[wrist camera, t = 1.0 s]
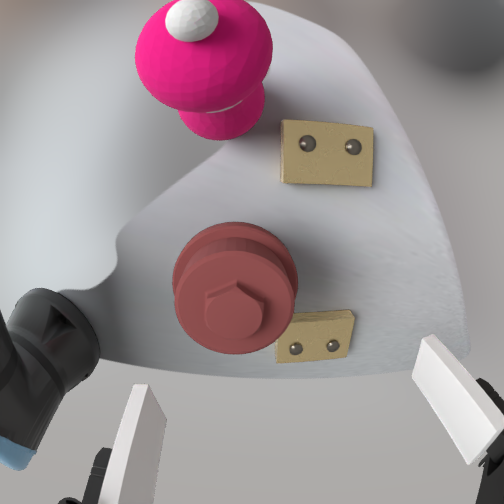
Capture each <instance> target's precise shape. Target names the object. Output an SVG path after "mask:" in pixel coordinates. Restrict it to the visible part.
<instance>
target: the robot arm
mask: <svg viewBox="0 0 504 504" xmlns="http://www.w3.org/2000/svg"><path fill="white" fill-rule="evenodd" d="M99 355H100V351H99V344H98V341H97V338H96V335H95V333H94V331H93V329H92V327H91V326H90V324H89V322H88V321H87V320H86V318H85V317H84V316H83V314H82V313H81V312H80V311H79V310H78V309H77V308H76V307H75V306H74V305H73V304H72V303H71V302H70V301H69V300H67V299H66V298H65V297H63V296H62V295H60V294H58V293H56V292H54V291H52V290H48V289H45V288H35V289H32V290H30V291H29V292H27V293H26V294H25V295H24V296H23V297H21V298H20V299H19V301H18V302H17V304H16V305H15V309H14V310H13V312H12V314H11V316H10V318H9V320H8V322H7V325H6V324H5V322H4V319H3V316H2V313H1V311H0V462H1V463H2V464H4V465H5V466H7V467H9V468H11V469H13V470H18V471H20V470H24V469H25V468H26V467H27V465H28V463H29V462H30V460H31V458H32V456H33V455H34V454H36V452H37V451H36V450H37V448H38V446H39V444H40V442H41V440H42V438H43V436H44V434H45V431H46V429H47V427H48V426H49V423H50V421H51V420H52V418H53V416H54V414H55V412H56V410H57V408H58V406H59V404H60V402H61V401H62V399H63V397H64V395H65V394H66V393H67V392H69V391H70V390H71V389H73V388H74V387H75V386H76V385H78V384H79V383H80V382H81V381H83V380H85V379H86V378H88V377H89V376H90V375H91V373H92V372H93V370H94V369H95V367H96V365H97V363H98V361H99ZM411 377H412V378H413V380H414V381H415V383H416V384H417V386H418V387H419V389H420V390H421V392H422V393H423V395H424V396H425V398H426V399H427V401H428V402H429V404H430V405H431V407H432V408H433V410H434V411H435V413H436V414H437V416H438V417H439V419H440V421H441V422H442V423H443V425H444V427H445V428H446V430H447V432H448V433H449V435H450V436H451V438H452V440H453V441H454V443H455V445H456V446H457V448H458V450H459V451H460V453H461V455H462V456H463V458H464V460H465V461H466V463H467V465H469V464H471V463H472V462H474V461H475V460H477V459H478V458H480V457H481V456H482V454H483V453H484V452H485V451H487V453H488V454H487V455H486V456H485V457H484V458H483V459H482V460H481V462H480V463H479V467H480V466H481V465H482V464H483V463H484V462H485V464H484V465H483V467H484V470H483V475H482V480H481V484H480V488H479V493H478V496H477V500H476V504H504V401H503V399H502V398H501V397H499V394H498V393H497V392H496V391H494V389H493V387H492V386H491V385H490V384H489V383H488V382H486V381H485V380H483V379H481V378H479V379H477V380H475V379H474V378H473V377H472V376H471V375H470V374H469V373H468V371H467V370H466V369H465V368H464V367H463V366H462V364H461V363H460V362H459V361H458V360H457V359H456V358H455V357H454V355H453V354H452V353H451V352H450V351H449V350H448V349H447V348H446V347H445V346H444V345H443V343H442V342H441V341H440V340H439V339H438V338H437V337H436V336H435V335H434V334H432V335H429V336H427V337H424V338H422V341H421V345H420V349H419V352H418V356H417V359H416V363H415V366H414V370H413V373H412V376H411ZM166 421H167V419H166V417H165V415H164V413H163V412H162V410H161V408H160V406H159V404H158V402H157V400H156V399H155V397H154V395H153V393H152V391H151V389H150V387H149V385H148V384H134V385H133V388H132V390H131V393H130V396H129V399H128V402H127V405H126V408H125V411H124V414H123V417H122V420H121V423H120V426H119V430H118V433H117V436H116V439H115V443H114V446H113V449H110V448H102V449H101V450H100V451H99V452H98V454H97V455H96V457H95V460H94V463H93V467H92V469H91V475H90V476H89V480H88V483H87V486H86V490H85V493H84V497H83V500H82V503H81V502H80V501H78V500H77V499H75V498H70V497H69V498H64V499H62V500H60V501H59V503H58V504H153V501H154V494H155V487H156V480H157V473H158V466H159V461H160V454H161V448H162V443H163V437H164V432H165V426H166Z"/></svg>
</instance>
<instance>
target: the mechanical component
mask: <svg viewBox="0 0 504 504" xmlns="http://www.w3.org/2000/svg"><path fill="white" fill-rule="evenodd" d="M172 285H173V292H174V296H175V311H176V315H177V318H178V320H179V322H180V324H181V326H182V328H183V329H184V330H185V332H186V333H187V334H188V335H189V336H190V337H191V338H192V339H193V340H194V341H196V342H197V343H199V344H200V345H202V346H204V347H206V348H208V349H210V350H213V351H216V352H220V353H224V354H246V353H251V352H255V351H258V350H261V349H263V348H265V347H267V346H269V345H270V344H272V343H273V342H275V341H276V340H277V339H278V338H279V337H280V336H281V335H282V334H283V333H284V332H285V330H286V329H287V327H288V326H289V324H290V322H291V319H292V317H293V313H294V304H295V298H296V294H297V290H298V276H297V271H296V267H295V264H294V262H293V260H292V257H291V255H290V254H289V252H288V250H287V248H286V247H285V246H284V244H283V243H282V242H281V241H280V240H279V239H278V238H277V237H276V236H274V235H273V234H272V233H270V232H269V231H267V230H265V229H263V228H261V227H259V226H256V225H253V224H249V223H244V222H226V223H221V224H216V225H214V226H211V227H208V228H206V229H205V230H203V231H201V232H199V233H198V234H197V235H195V236H194V237H193V238H192V239H191V240H190V241H189V242H188V243H187V244H186V246H185V247H184V249H183V250H182V252H181V254H180V256H179V257H178V259H177V262H176V264H175V267H174V272H173V282H172Z"/></svg>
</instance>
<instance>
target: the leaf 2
mask: <svg viewBox="0 0 504 504" xmlns="http://www.w3.org/2000/svg"><path fill="white" fill-rule="evenodd" d="M372 169H373V128H371V127H364V126H356V125H348V124H339V123H329V122H318V121H304V120H282V121H281V173H280V181H281V182H282V183H300V184H331V185H351V186H367V187H372Z"/></svg>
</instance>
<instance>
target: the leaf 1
mask: <svg viewBox="0 0 504 504" xmlns="http://www.w3.org/2000/svg"><path fill="white" fill-rule="evenodd" d="M354 320H355V318H354V316H353V314H352V313H351V311H350V310H338V311H324V312H308V313H293V317H292V319H291V322H290V324H289V326H288V327H287V329H286V330H285V332H284V333H283V334H282V335H281V336H280V337H279V338H278V339H277V340H276V341H275V357H276V363H291V362H305V361H316V360H326V359H335V358H344V357H346V356H347V352H348V348H349V344H350V339H351V334H352V330H353V325H354Z"/></svg>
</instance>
